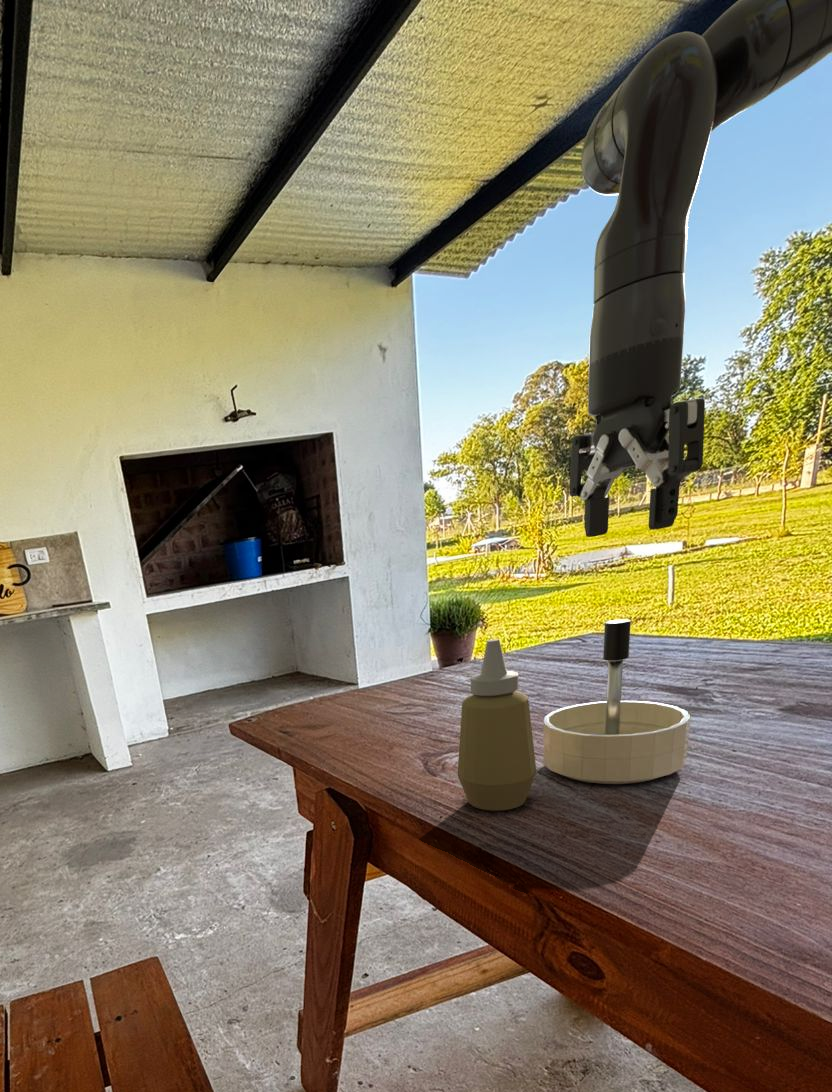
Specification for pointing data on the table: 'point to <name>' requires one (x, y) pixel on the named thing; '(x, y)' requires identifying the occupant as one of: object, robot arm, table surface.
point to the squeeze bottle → (496, 737)
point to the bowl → (616, 742)
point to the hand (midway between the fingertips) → (626, 532)
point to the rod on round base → (615, 669)
